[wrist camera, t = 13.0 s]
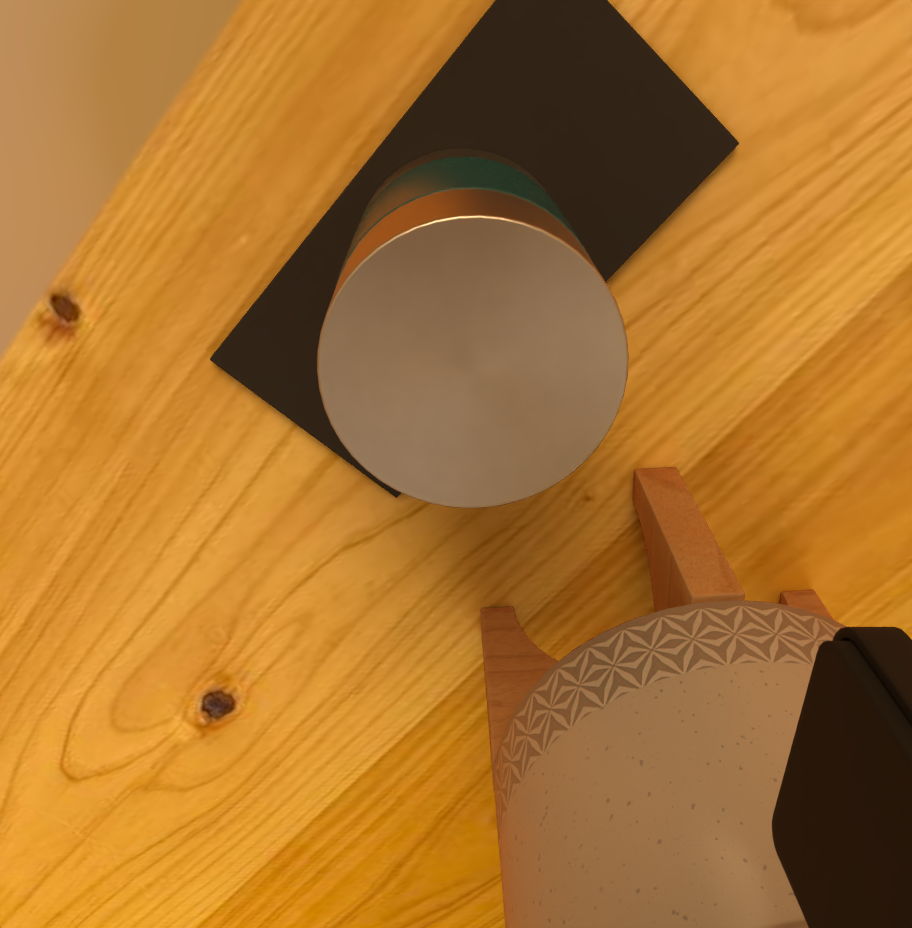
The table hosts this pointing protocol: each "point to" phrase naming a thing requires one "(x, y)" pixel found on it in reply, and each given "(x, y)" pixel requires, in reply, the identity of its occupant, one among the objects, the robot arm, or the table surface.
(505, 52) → the black flat rectangular slab
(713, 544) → the planter
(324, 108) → the table surface
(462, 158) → the can
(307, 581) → the table surface
